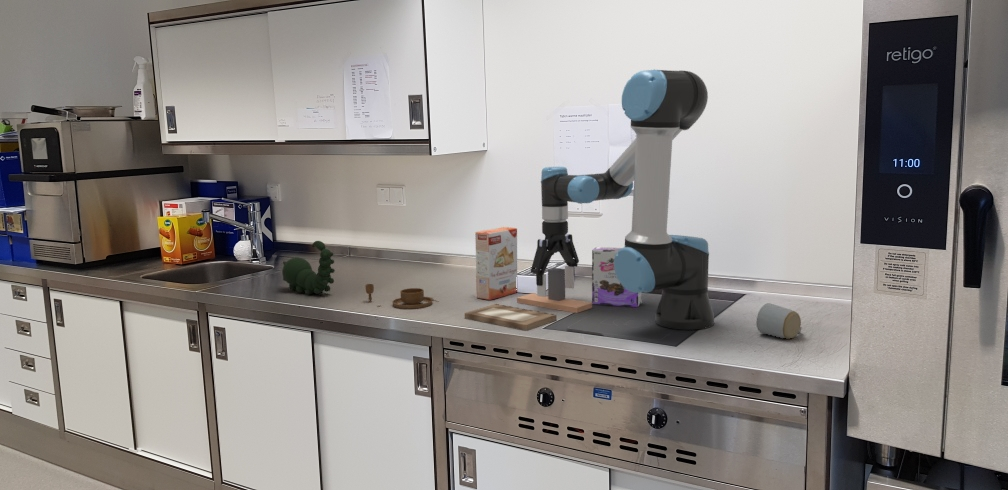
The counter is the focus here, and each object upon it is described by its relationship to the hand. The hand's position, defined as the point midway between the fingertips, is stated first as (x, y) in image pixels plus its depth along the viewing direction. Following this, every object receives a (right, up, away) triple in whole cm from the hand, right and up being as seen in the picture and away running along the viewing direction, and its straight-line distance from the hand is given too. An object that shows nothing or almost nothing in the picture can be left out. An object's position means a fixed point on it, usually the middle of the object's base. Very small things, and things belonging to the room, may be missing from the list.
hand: (555, 292), depth 224 cm
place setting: (-46, -4, +8) cm, 47 cm away
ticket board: (-14, -6, -15) cm, 21 cm away
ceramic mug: (+53, -9, -37) cm, 65 cm away
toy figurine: (-80, -2, +26) cm, 84 cm away
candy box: (+18, -4, 0) cm, 18 cm away
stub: (-1, -4, 0) cm, 4 cm away
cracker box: (-17, -2, +14) cm, 22 cm away
